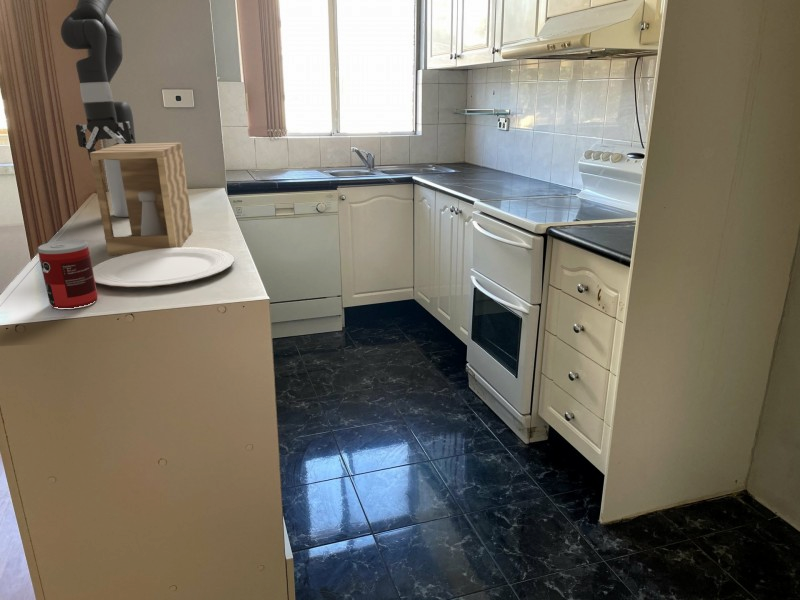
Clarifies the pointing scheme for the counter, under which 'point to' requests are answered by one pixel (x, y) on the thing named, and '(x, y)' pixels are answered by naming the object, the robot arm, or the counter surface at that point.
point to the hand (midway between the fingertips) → (110, 161)
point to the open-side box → (143, 172)
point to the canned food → (68, 273)
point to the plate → (161, 267)
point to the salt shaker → (150, 214)
